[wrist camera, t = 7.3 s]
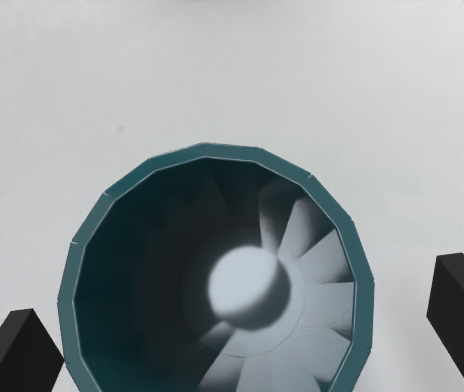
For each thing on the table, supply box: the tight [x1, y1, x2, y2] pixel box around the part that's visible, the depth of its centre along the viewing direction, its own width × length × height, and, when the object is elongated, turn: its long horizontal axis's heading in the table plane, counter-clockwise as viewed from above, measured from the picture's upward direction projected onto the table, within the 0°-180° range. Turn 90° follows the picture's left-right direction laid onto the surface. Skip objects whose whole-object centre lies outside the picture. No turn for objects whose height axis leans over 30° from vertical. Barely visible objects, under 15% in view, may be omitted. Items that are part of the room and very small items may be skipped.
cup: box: [57, 143, 375, 392], centre depth 14 cm, size 7×7×11 cm
